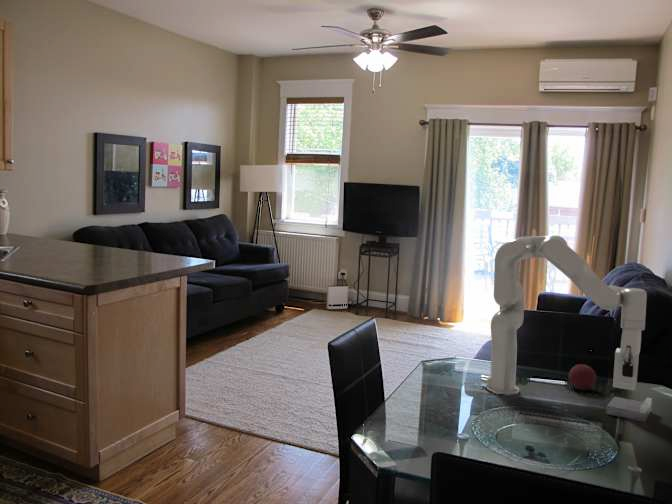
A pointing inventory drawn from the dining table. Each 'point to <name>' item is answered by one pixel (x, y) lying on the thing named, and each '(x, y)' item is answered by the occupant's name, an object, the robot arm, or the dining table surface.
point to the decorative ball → (582, 377)
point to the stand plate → (629, 408)
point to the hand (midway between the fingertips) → (629, 373)
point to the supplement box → (618, 379)
